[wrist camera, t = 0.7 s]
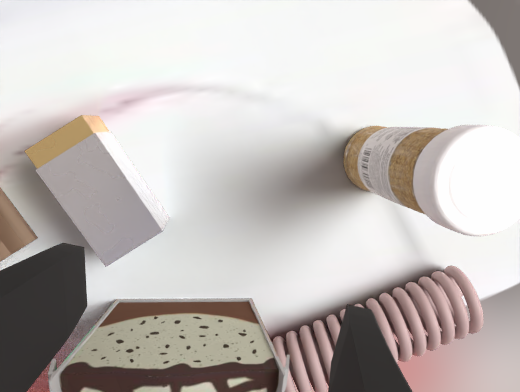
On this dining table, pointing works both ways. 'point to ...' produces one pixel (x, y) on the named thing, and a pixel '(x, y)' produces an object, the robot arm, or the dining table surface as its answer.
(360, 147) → the sprinkles bottle
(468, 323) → the coil
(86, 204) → the white yellow block
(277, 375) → the food container
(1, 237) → the wooden tray
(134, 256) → the dining table surface
